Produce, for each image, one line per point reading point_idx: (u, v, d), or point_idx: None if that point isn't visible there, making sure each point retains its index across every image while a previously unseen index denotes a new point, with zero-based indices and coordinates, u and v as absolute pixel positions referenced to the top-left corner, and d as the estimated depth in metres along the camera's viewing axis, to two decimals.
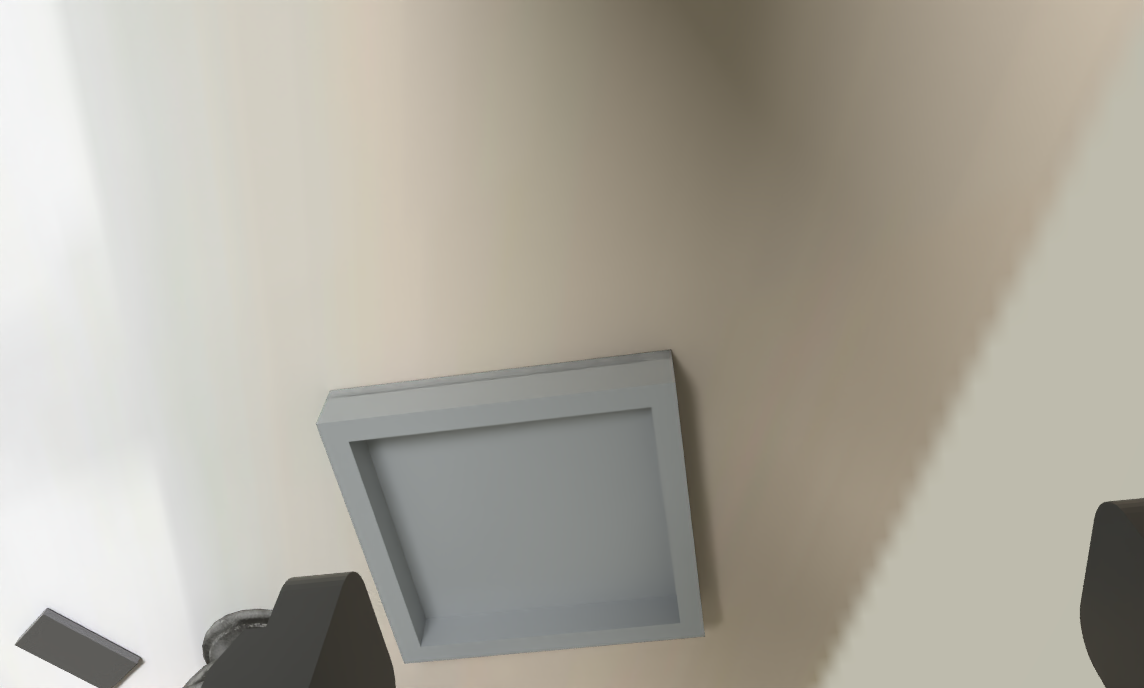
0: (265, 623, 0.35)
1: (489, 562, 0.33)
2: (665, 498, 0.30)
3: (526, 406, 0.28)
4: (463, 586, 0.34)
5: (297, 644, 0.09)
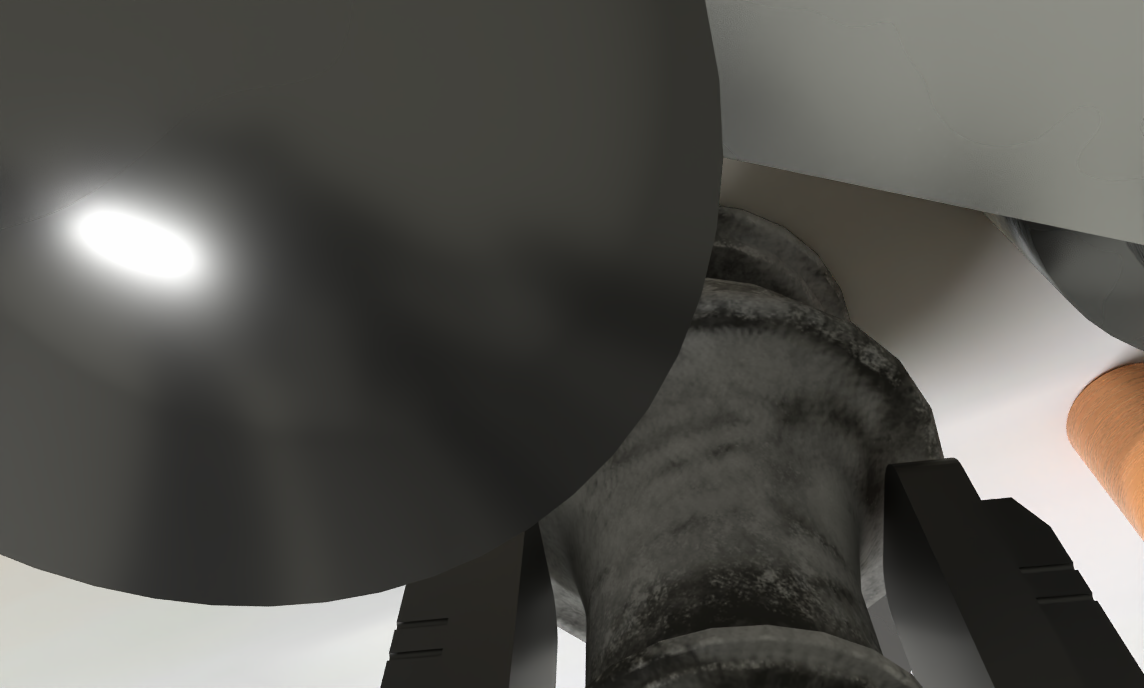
0: None
1: None
2: None
3: None
4: None
5: (497, 560, 0.10)
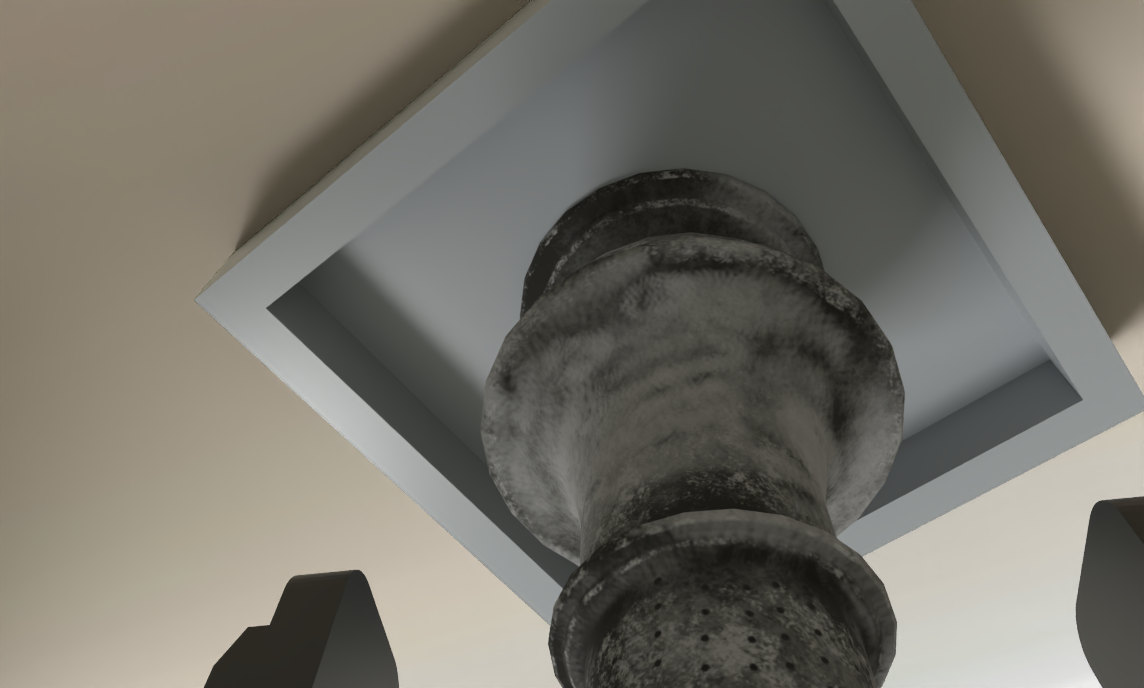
0: None
1: None
2: (432, 168, 0.14)
3: (402, 473, 0.16)
4: (925, 334, 0.16)
5: (301, 642, 0.09)
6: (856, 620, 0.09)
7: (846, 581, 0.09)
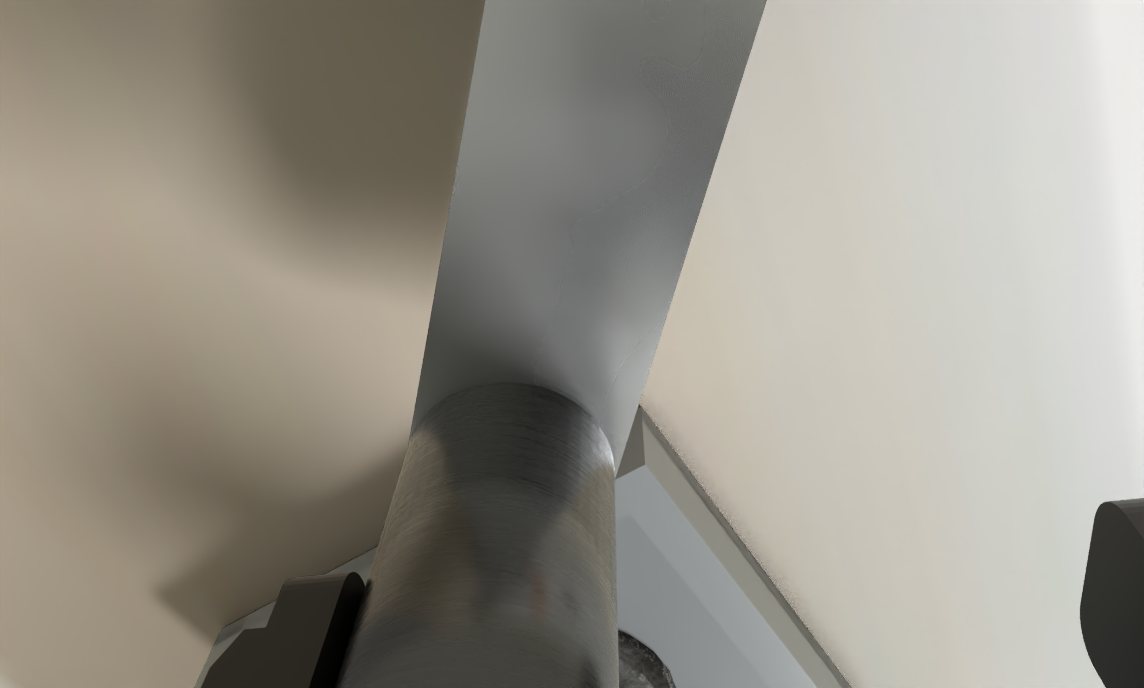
0: None
1: None
2: None
3: None
4: None
5: (297, 644, 0.09)
6: None
7: None
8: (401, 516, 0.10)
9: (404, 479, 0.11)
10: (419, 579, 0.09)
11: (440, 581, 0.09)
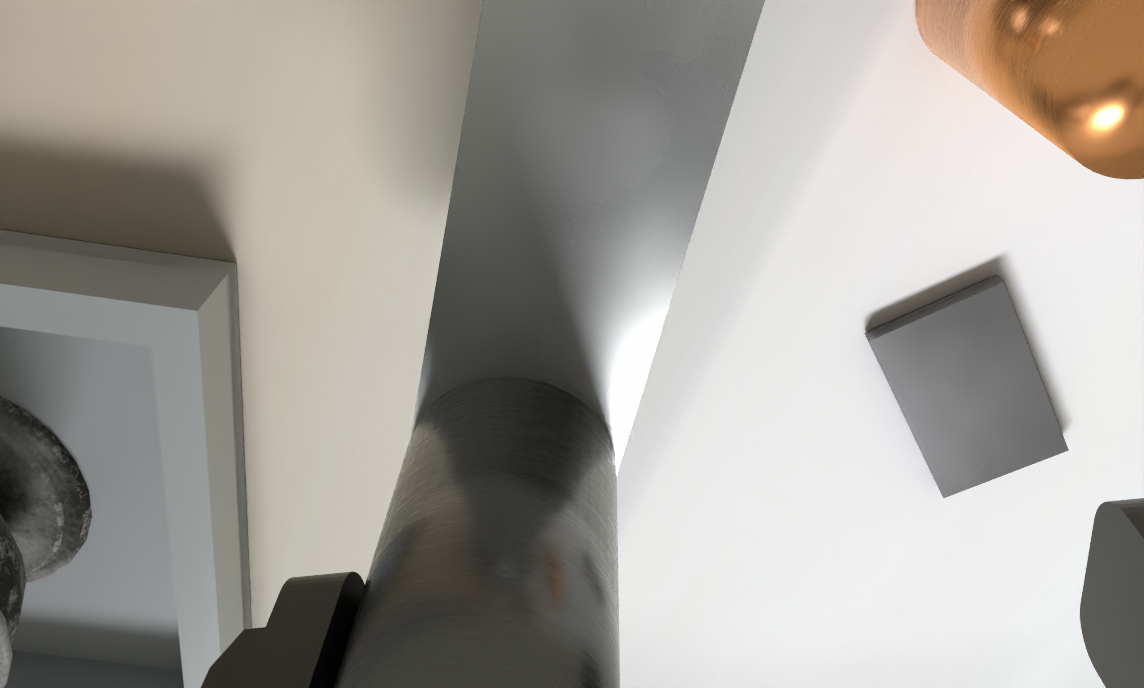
0: None
1: (33, 405, 0.17)
2: None
3: None
4: (90, 366, 0.17)
5: (297, 644, 0.09)
6: None
7: None
8: (401, 512, 0.10)
9: (405, 474, 0.11)
10: (419, 572, 0.09)
11: (440, 575, 0.09)
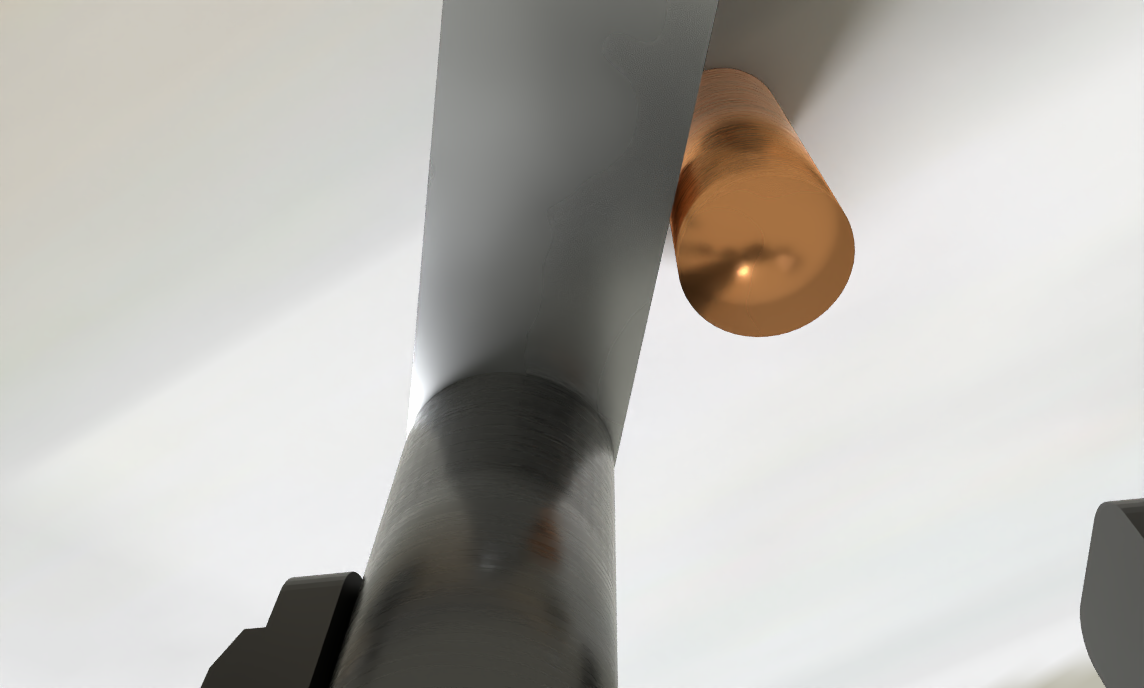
0: None
1: None
2: None
3: None
4: None
5: (297, 644, 0.09)
6: None
7: None
8: (394, 510, 0.10)
9: (399, 473, 0.11)
10: (409, 568, 0.09)
11: (429, 569, 0.09)
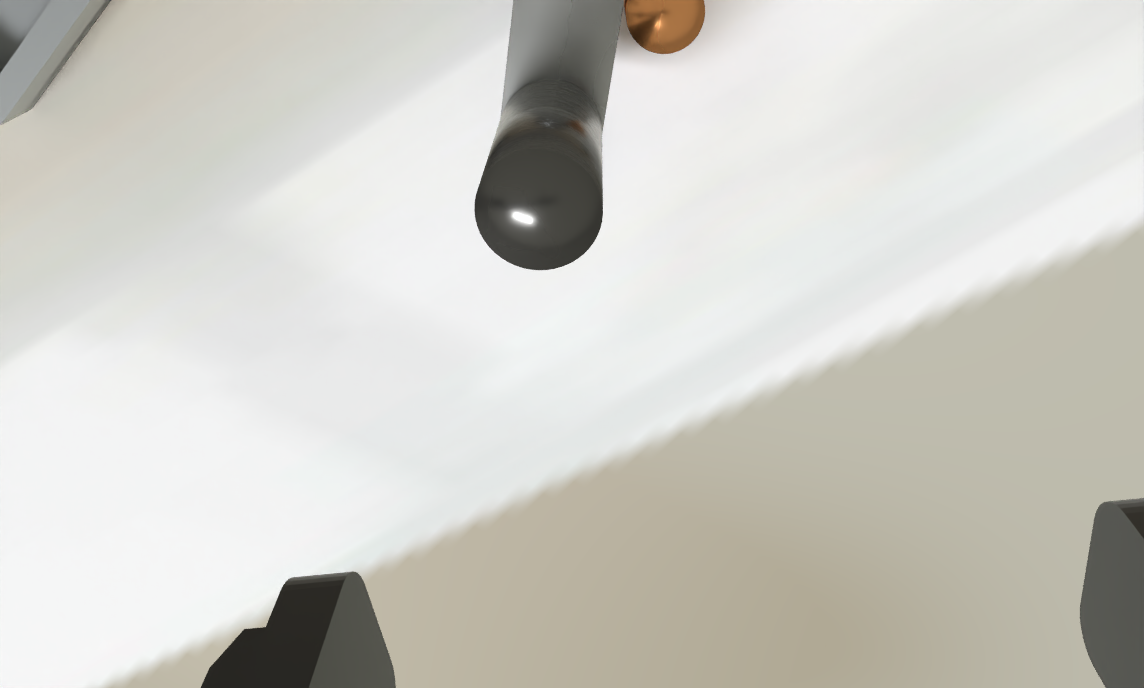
0: None
1: None
2: None
3: None
4: None
5: (297, 644, 0.09)
6: None
7: None
8: (503, 120, 0.23)
9: (502, 116, 0.24)
10: (516, 121, 0.22)
11: (525, 118, 0.22)
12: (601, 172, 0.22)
